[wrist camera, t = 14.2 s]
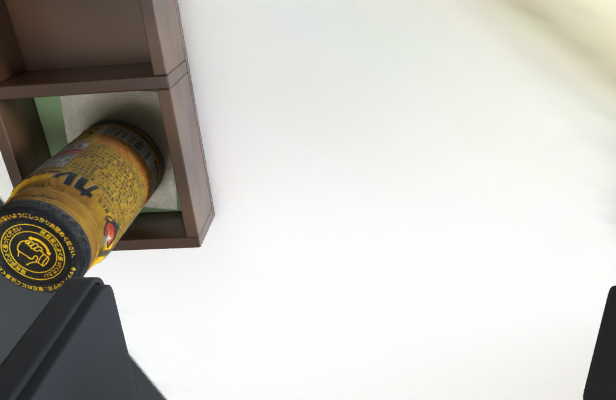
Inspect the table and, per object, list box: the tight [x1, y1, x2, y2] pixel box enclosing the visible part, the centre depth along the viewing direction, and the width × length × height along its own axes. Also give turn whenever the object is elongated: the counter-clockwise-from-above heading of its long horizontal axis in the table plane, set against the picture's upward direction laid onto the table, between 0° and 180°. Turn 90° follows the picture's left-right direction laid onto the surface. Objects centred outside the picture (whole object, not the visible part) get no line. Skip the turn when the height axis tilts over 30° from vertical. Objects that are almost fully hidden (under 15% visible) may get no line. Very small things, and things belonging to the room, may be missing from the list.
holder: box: [0, 0, 215, 251], centre depth 34 cm, size 22×11×4 cm, turn 5°
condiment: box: [0, 91, 177, 293], centre depth 33 cm, size 7×8×12 cm
